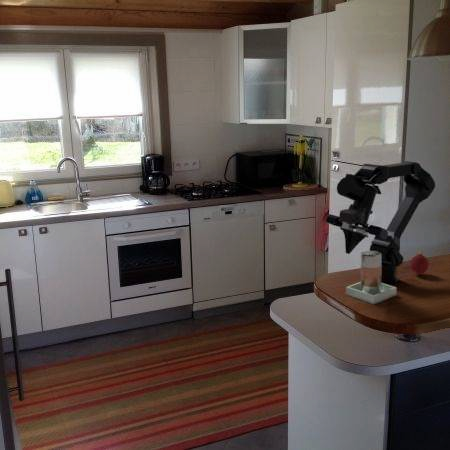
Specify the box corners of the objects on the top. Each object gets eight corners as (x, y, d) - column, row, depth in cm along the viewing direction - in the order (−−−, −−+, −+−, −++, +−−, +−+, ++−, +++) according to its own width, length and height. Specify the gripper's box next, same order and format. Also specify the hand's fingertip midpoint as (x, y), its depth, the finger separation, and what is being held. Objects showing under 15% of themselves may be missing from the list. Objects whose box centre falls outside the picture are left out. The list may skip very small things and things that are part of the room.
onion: (429, 278, 178) (430, 255, 177) (411, 277, 180) (412, 254, 178) (426, 272, 184) (427, 249, 182) (408, 271, 185) (409, 249, 183)
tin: (377, 288, 170) (377, 250, 167) (384, 295, 164) (384, 255, 161) (358, 290, 170) (357, 251, 167) (364, 297, 164) (364, 257, 161)
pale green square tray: (368, 286, 174) (368, 278, 173) (396, 295, 166) (396, 287, 165) (346, 294, 168) (346, 286, 167) (373, 304, 160) (374, 296, 159)
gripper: (324, 192, 164) (308, 241, 165) (380, 205, 152) (363, 258, 153) (340, 200, 173) (326, 247, 173) (395, 213, 161) (379, 263, 161)
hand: (347, 253), depth 165 cm, fingers closed
